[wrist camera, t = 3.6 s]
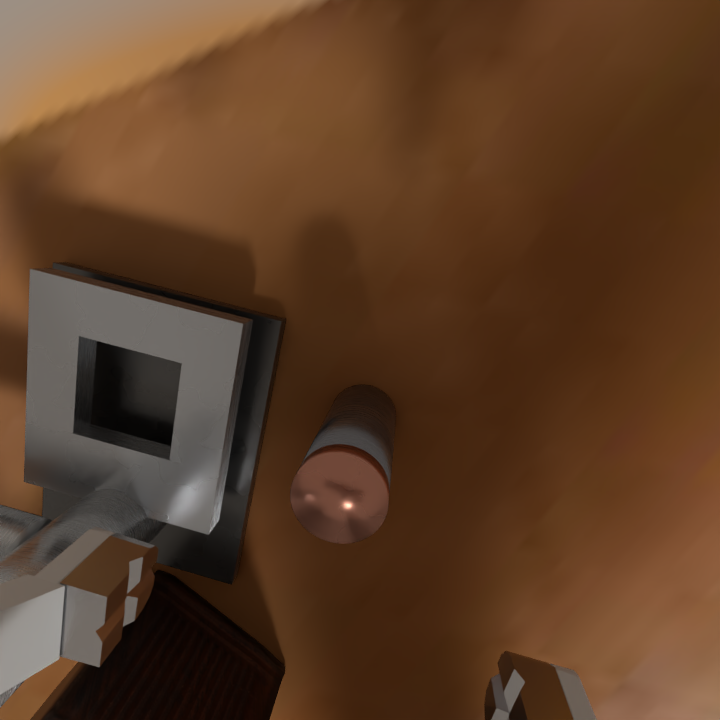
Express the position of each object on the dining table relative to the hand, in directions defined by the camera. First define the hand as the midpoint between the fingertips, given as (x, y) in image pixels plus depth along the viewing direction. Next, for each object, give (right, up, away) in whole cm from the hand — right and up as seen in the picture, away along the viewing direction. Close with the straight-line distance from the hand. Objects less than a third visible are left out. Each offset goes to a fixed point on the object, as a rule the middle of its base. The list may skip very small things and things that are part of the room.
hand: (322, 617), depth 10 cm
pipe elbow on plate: (-12, +2, +14) cm, 19 cm away
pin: (+1, +3, +13) cm, 13 cm away
